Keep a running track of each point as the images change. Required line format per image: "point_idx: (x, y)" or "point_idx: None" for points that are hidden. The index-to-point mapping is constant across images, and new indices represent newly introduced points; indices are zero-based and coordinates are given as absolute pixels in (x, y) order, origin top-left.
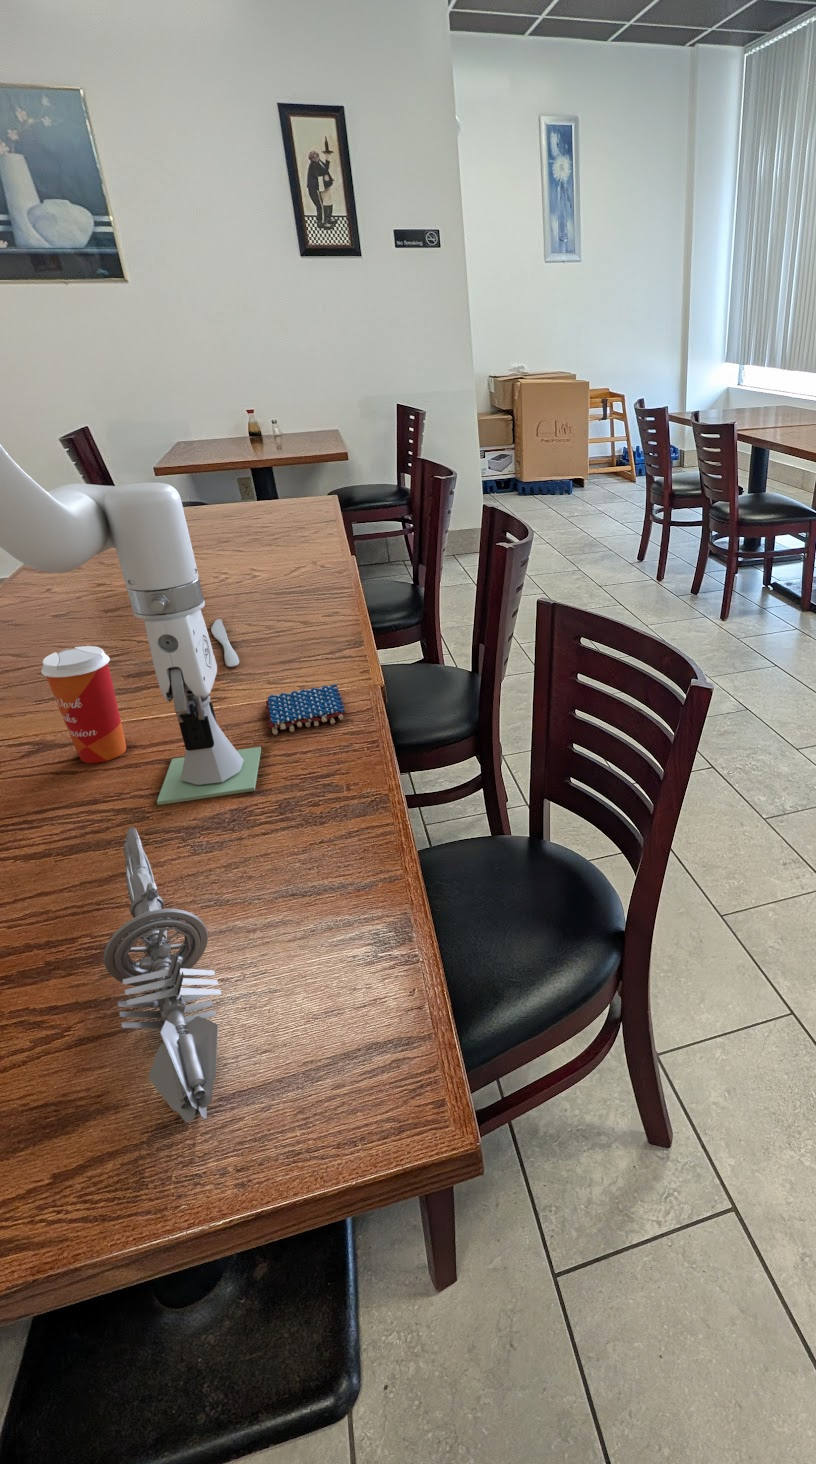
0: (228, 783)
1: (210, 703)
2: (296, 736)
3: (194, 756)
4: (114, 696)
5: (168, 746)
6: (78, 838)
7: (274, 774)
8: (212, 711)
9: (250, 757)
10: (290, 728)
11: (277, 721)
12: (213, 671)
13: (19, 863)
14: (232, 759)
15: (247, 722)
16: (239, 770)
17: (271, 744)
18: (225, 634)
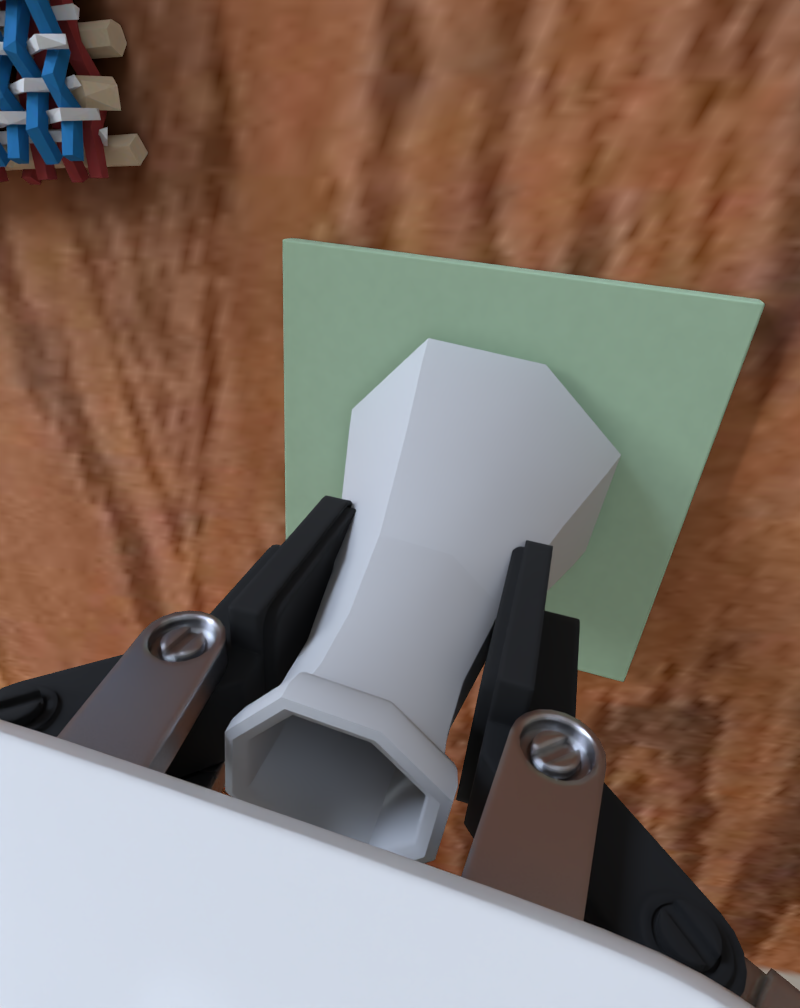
0: (628, 425)
1: (248, 617)
2: (182, 12)
3: None
4: None
5: (169, 581)
6: (706, 859)
7: (613, 173)
8: (289, 579)
9: (387, 300)
10: (113, 44)
11: (74, 118)
12: (45, 882)
13: (756, 963)
14: (527, 410)
15: (9, 291)
16: (544, 368)
17: (244, 178)
18: None
